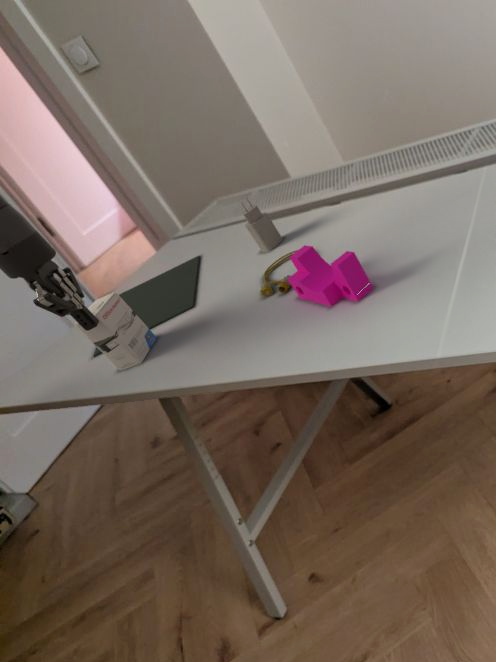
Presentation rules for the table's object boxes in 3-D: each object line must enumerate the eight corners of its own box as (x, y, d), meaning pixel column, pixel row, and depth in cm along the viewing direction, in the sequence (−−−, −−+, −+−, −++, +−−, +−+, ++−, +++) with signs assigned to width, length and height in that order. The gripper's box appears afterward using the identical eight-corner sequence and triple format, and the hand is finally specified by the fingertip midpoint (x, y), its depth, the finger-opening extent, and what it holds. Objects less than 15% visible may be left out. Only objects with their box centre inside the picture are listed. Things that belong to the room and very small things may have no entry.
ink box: (137, 345, 108) (94, 298, 101) (158, 337, 107) (116, 290, 100) (119, 372, 101) (71, 323, 94) (142, 363, 100) (96, 314, 94)
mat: (194, 308, 112) (192, 306, 112) (95, 358, 110) (93, 355, 110) (200, 257, 136) (198, 255, 136) (118, 297, 134) (117, 295, 134)
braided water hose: (241, 299, 108) (236, 291, 106) (288, 254, 117) (283, 246, 116) (283, 298, 101) (278, 290, 100) (329, 251, 111) (324, 242, 110)
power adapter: (284, 239, 126) (255, 192, 118) (270, 252, 122) (240, 205, 115) (275, 240, 127) (246, 194, 120) (261, 253, 124) (230, 206, 117)
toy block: (300, 298, 99) (278, 265, 94) (324, 278, 102) (304, 245, 97) (348, 311, 89) (326, 274, 85) (373, 289, 92) (354, 252, 88)
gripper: (2, 238, 88) (82, 320, 98) (-31, 267, 77) (62, 355, 87) (46, 218, 89) (120, 301, 99) (19, 243, 78) (105, 334, 88)
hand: (93, 326), depth 93 cm, fingers closed
